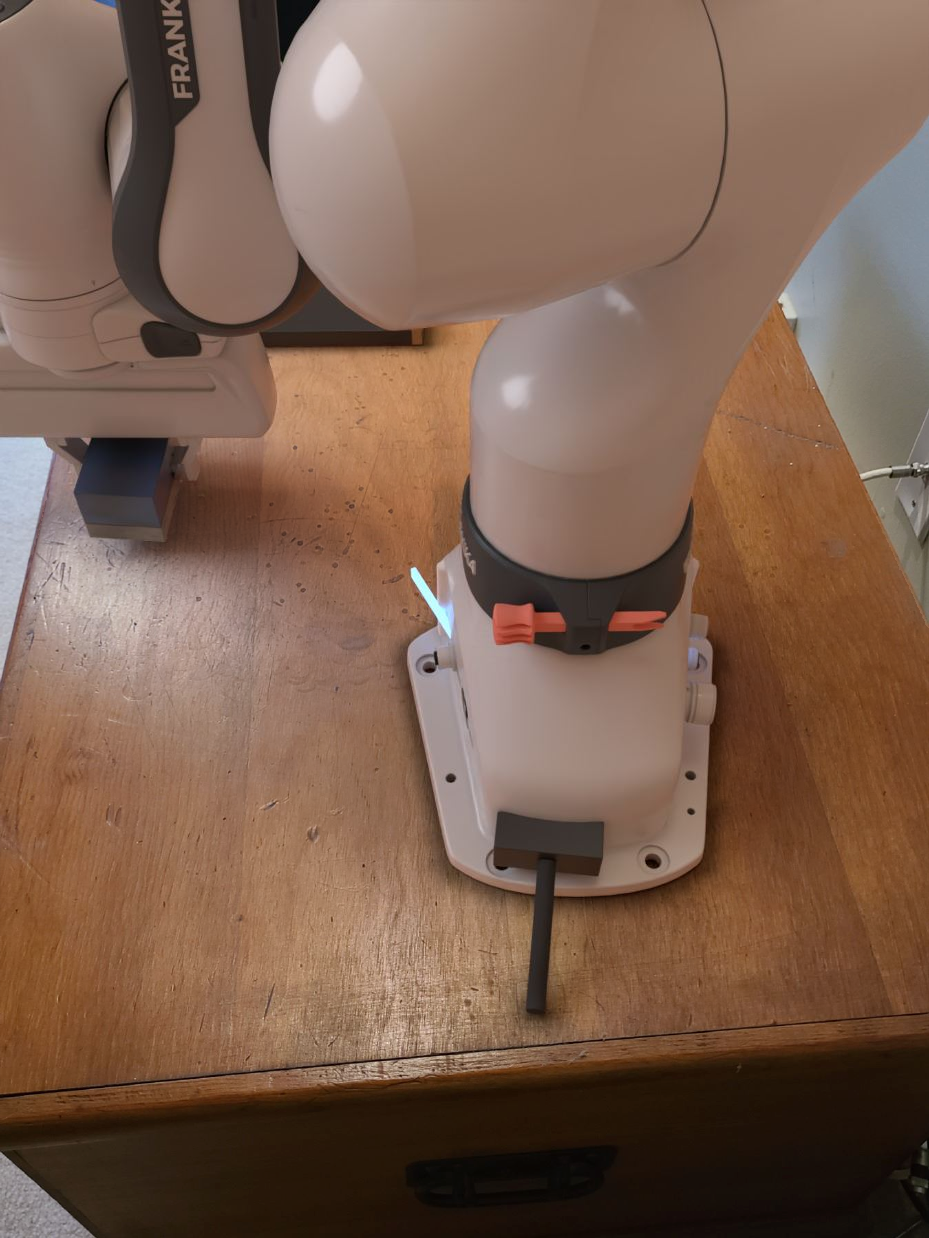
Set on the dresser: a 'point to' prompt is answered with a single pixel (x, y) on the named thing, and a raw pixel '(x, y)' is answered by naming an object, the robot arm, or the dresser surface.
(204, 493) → the dresser surface
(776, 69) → the robot arm
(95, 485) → the eraser
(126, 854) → the dresser surface
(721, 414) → the dresser surface
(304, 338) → the slate board
